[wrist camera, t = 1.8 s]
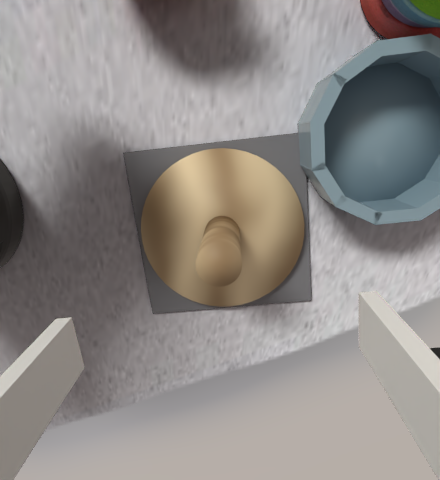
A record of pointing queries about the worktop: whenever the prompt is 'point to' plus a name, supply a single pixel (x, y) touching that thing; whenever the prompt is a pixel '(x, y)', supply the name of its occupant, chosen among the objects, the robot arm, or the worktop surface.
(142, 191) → the mat
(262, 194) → the lid
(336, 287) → the worktop surface
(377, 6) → the stacking bear
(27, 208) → the worktop surface
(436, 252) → the worktop surface
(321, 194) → the bowl
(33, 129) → the worktop surface
